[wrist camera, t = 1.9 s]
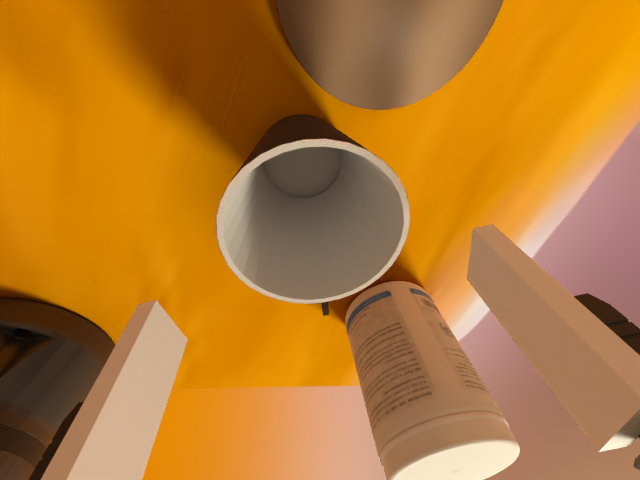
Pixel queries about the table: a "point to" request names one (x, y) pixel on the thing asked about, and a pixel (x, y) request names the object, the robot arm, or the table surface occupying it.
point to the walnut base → (385, 45)
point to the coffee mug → (311, 215)
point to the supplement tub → (423, 390)
